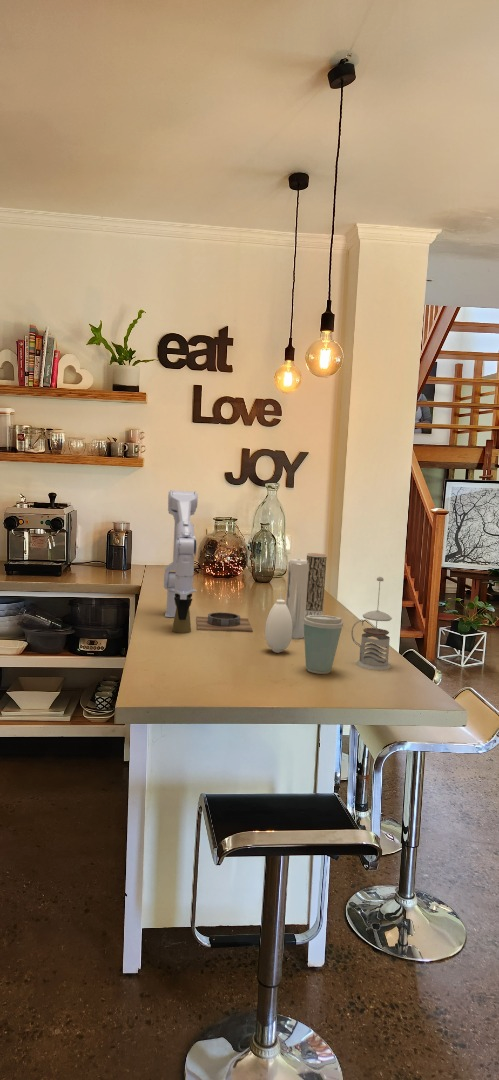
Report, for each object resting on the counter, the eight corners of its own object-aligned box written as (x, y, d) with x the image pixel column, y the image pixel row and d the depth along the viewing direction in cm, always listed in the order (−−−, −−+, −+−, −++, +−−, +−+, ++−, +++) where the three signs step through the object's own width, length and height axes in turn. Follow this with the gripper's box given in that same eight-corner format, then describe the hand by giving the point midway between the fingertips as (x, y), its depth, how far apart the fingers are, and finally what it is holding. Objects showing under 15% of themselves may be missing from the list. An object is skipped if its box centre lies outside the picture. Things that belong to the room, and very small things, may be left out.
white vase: (295, 654, 198) (299, 593, 196) (270, 656, 195) (274, 593, 193) (284, 648, 205) (287, 588, 203) (259, 649, 202) (263, 588, 200)
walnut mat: (196, 618, 239) (196, 616, 239) (247, 620, 241) (247, 618, 241) (197, 630, 221) (197, 628, 221) (252, 632, 223) (252, 630, 223)
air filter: (304, 639, 217) (309, 561, 215) (284, 638, 217) (289, 560, 215) (303, 634, 223) (308, 558, 221) (283, 633, 224) (288, 557, 221)
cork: (169, 629, 220) (171, 595, 219) (187, 628, 223) (189, 594, 222) (175, 633, 215) (177, 598, 214) (193, 632, 217) (195, 598, 216)
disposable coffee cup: (293, 666, 186) (296, 611, 184) (328, 664, 190) (332, 611, 188) (310, 677, 176) (314, 620, 174) (347, 675, 180) (351, 619, 178)
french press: (391, 671, 186) (398, 580, 184) (348, 666, 188) (355, 576, 186) (391, 662, 196) (398, 575, 193) (350, 657, 198) (356, 572, 196)
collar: (207, 619, 236) (207, 611, 236) (238, 620, 237) (238, 613, 237) (208, 626, 225) (208, 618, 225) (240, 627, 226) (241, 619, 226)
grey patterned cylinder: (299, 623, 240) (304, 552, 238) (317, 623, 242) (322, 553, 240) (306, 628, 234) (311, 555, 231) (324, 627, 236) (329, 555, 233)
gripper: (197, 579, 210) (195, 623, 212) (196, 572, 225) (194, 613, 226) (174, 578, 210) (172, 622, 211) (175, 571, 224) (173, 612, 225)
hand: (182, 617), depth 218 cm, fingers closed on cork, 5 cm apart
